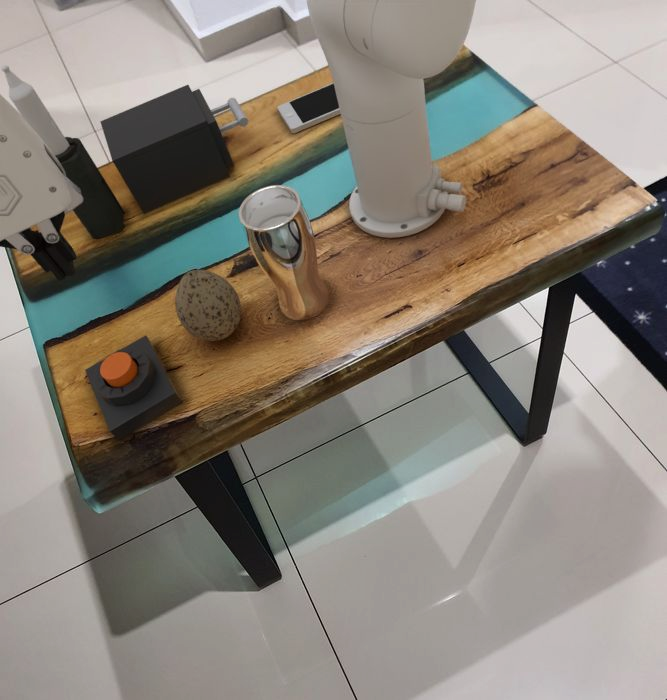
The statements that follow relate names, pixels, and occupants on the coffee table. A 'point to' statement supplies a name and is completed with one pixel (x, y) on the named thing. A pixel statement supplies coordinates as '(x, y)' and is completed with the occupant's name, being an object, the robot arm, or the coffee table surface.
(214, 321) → the decorative egg
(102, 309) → the coffee table surface
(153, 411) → the block
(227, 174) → the fryer
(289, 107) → the smartphone
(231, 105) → the fryer drawer
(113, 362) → the button
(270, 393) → the coffee table surface
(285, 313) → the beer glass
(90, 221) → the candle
